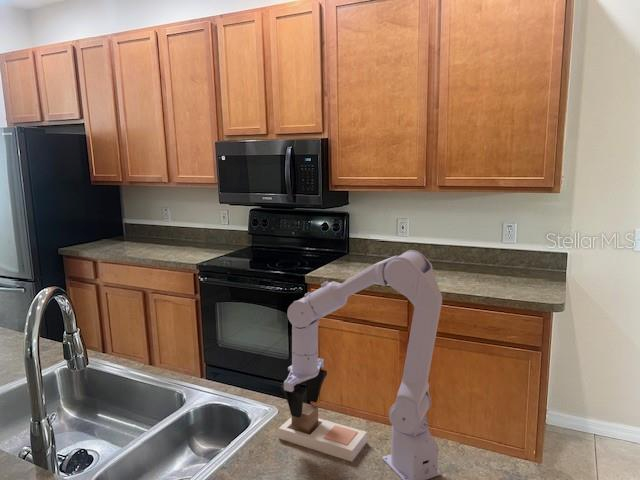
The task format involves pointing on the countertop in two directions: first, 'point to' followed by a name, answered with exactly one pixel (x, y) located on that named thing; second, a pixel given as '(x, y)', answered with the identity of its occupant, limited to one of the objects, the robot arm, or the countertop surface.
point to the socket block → (327, 438)
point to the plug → (306, 419)
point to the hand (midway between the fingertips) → (304, 408)
